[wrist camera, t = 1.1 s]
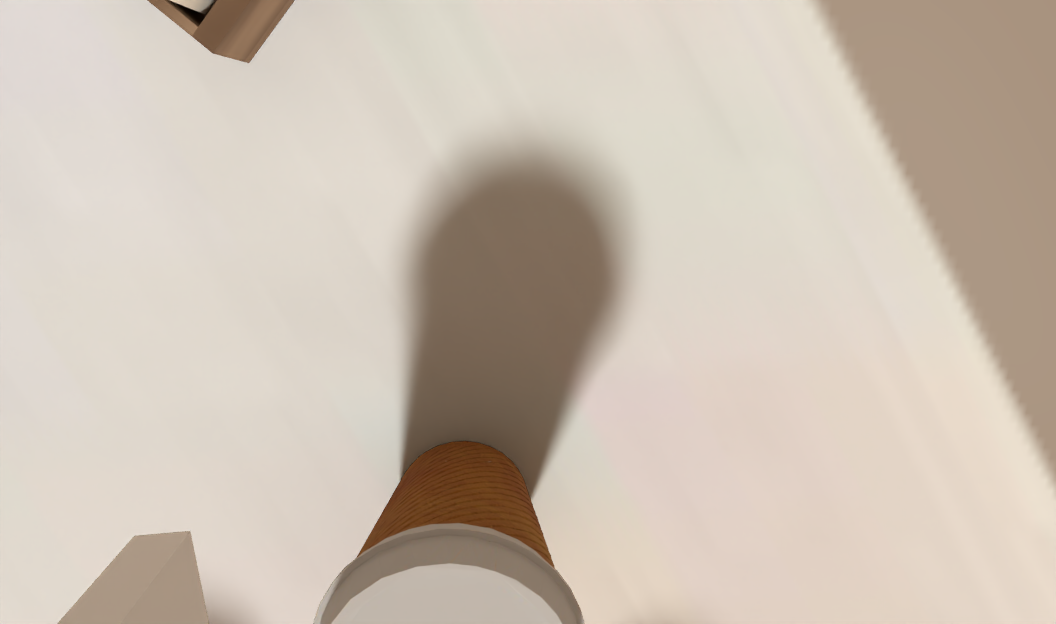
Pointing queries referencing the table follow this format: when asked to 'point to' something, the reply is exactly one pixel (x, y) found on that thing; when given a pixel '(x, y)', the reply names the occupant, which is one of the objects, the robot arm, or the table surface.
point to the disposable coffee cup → (454, 551)
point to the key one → (197, 4)
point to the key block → (229, 24)
